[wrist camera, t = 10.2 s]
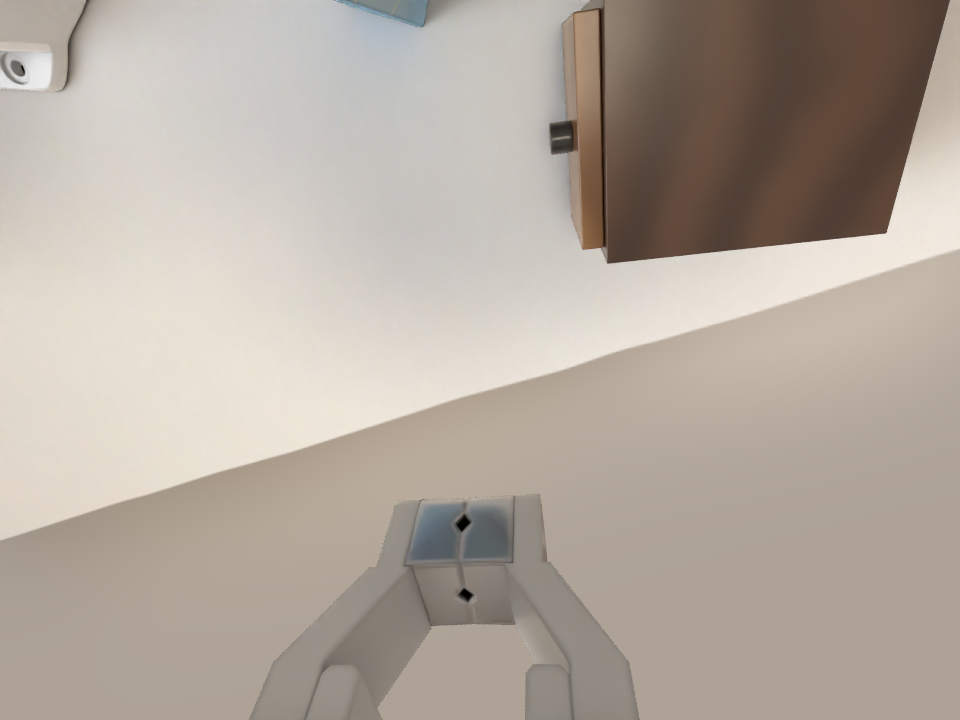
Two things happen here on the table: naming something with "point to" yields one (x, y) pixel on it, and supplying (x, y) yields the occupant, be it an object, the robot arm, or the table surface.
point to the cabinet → (756, 119)
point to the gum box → (393, 9)
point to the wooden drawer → (583, 125)
